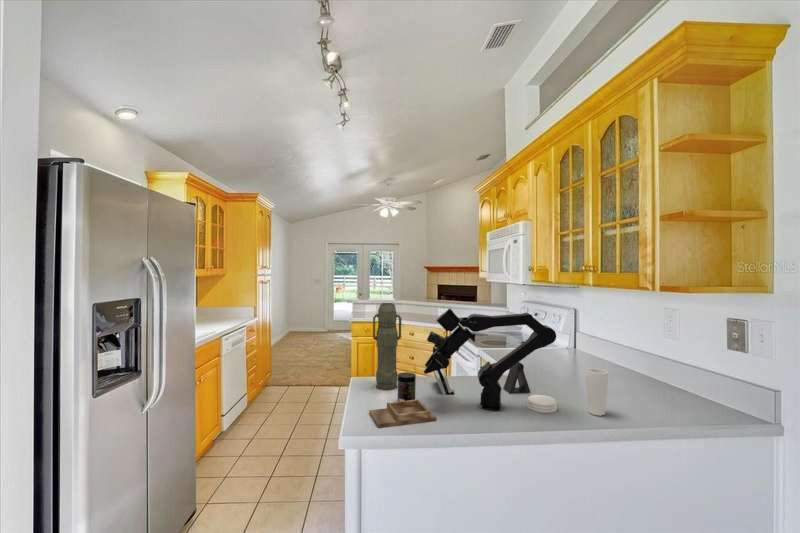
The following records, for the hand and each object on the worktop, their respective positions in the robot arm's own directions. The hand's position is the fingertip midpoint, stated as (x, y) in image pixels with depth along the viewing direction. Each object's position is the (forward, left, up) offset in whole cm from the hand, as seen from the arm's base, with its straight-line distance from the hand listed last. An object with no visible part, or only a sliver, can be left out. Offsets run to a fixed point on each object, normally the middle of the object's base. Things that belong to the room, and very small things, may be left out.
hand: (425, 369), depth 143 cm
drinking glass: (-58, -14, -13) cm, 62 cm away
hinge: (-1, -20, -13) cm, 24 cm away
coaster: (-40, -12, -13) cm, 44 cm away
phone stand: (-30, -28, -13) cm, 43 cm away
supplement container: (+7, +2, -13) cm, 15 cm away
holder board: (+3, +15, -13) cm, 20 cm away
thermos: (+21, -12, -13) cm, 27 cm away
